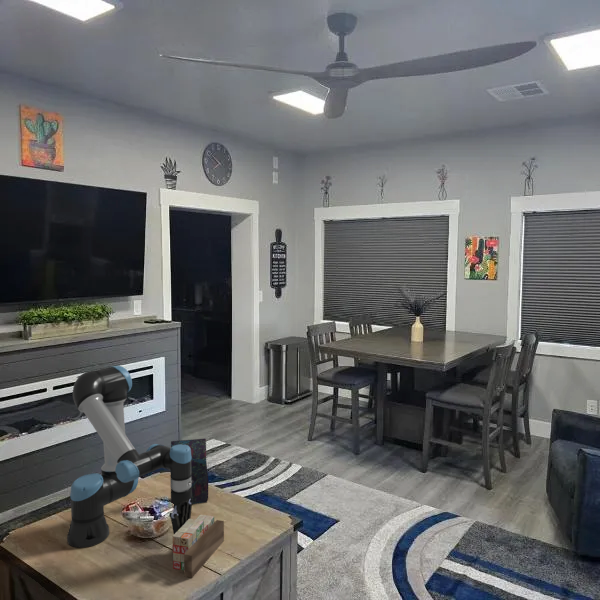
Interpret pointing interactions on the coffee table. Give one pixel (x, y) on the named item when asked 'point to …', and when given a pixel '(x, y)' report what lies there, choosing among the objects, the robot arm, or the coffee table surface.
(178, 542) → the stack of blocks
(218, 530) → the walnut board
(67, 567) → the coffee table surface
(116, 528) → the coffee table surface
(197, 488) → the decorative box
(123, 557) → the coffee table surface
